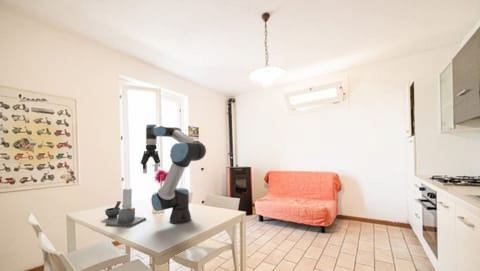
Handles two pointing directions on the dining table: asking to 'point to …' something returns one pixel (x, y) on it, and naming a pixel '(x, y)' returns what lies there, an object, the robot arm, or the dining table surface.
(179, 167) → the robot arm
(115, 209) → the mortar and pestle
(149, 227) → the dining table surface
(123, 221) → the stand
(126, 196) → the column
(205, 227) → the dining table surface
